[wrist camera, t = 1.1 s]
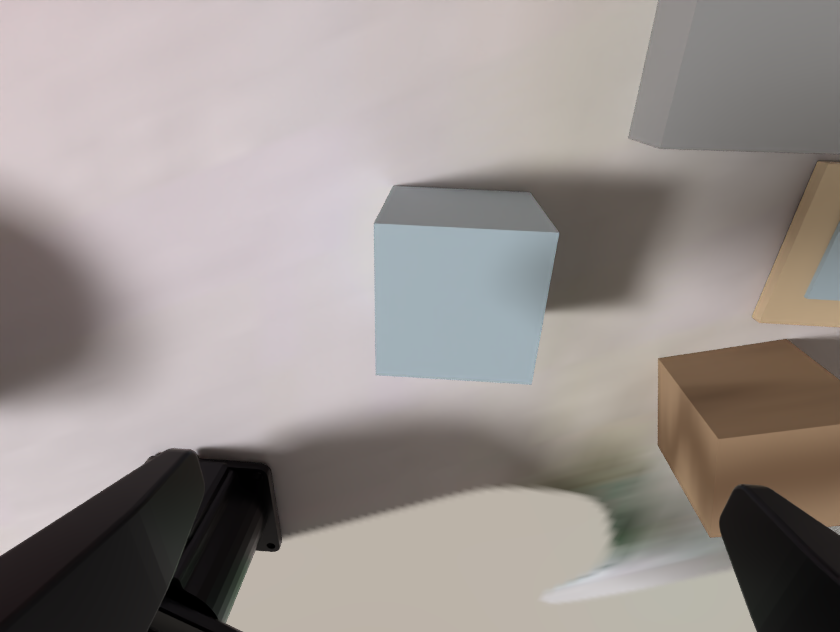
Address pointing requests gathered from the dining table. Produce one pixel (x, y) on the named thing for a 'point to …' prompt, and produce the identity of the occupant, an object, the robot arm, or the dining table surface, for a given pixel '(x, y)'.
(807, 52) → the base block
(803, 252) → the tan flat square frame
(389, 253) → the slate cube
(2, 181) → the dining table surface
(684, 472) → the walnut cube
